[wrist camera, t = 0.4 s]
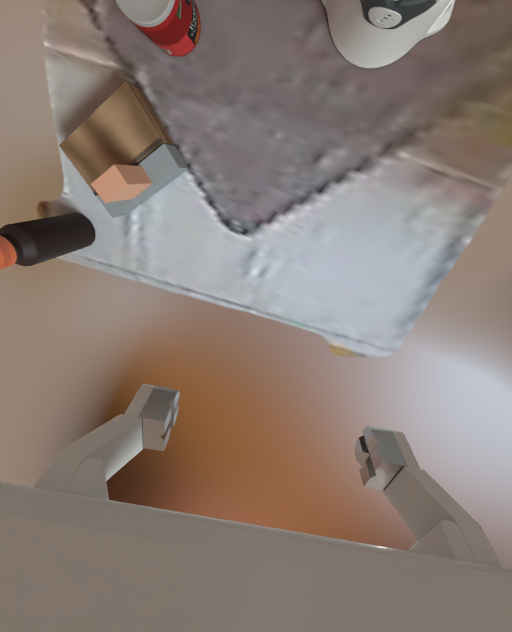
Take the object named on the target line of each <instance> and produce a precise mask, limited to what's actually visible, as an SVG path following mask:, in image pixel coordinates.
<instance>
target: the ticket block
mask: <svg viewBox="0 0 512 632" xmlns="http://www.w3.org/2000/svg"><path fill="white" fill-rule="evenodd" d="M164 143H165V144H169V145H173V146H174V145H175V144H174V142H173V141H172V139H171V137H170V136H169V134H168V132H167V131H166V129H165V127H164V126H163V124H162V122H161V121H160V119H159V117H158V116H157V114H156V112H155V111H154V109H153V107H152V106H151V104H150V102H149V101H148V99H147V97H146V96H145V94H144V92H143V91H142V90H141V89H139V88H138V87H136V86H134V85H132V84H131V83H129V82H127V81H125V82H124V83H123V84H122V85H121V86H120V87H119V88H118V89H117V90H116V91H115V92H114V93H113V94H112V95H111V96H110V97H109V98H108V99H107V100H106V101H105V102H104V103H102V104H101V105H100V106H99V107H98V108H97V109H96V110H95V111H94V112H93V113H92V114H91V115H90V116H89V117H88V118H87V119H86V120H85V121H84V122H83V123H82V124H81V125H80V126H79V127H78V128H77V129H76V130H75V131H73V132H72V133H71V134H70V135H69V136H68V137H67V138H66V139H65V140H64V141H63V142H62V143H61V144H60V145H59V146H60V147H61V149H62V150H63V151H64V153H65V154H66V155H67V157H68V158H69V159H70V161H71V162H72V164H73V165H74V166H75V168H76V169H77V170H78V172H79V173H80V174H81V176H82V177H83V178H84V180H85V181H86V182H87V184H88V185H89V187H90V188H91V189H92V191H93V192H94V194H95V196H99V195H98V193H97V192H96V190H95V189H94V188H93V186H92V185H91V183H93V182H94V181H95V180H96V179H97V178H99V177H100V176H101V175H102V174H103V173H104V172H106V171H107V170H108V169H109V168H110V167H112V166H113V165H114V164H115V165H131V166H137V165H138V164H139V163H140V162H142V161H143V160H144V159H145V158H147V157H148V156H149V155H150V154H152V153H153V152H154V151H155V150H157V149H158V148H159V147H160V146H161V145H163V144H164Z"/></svg>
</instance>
